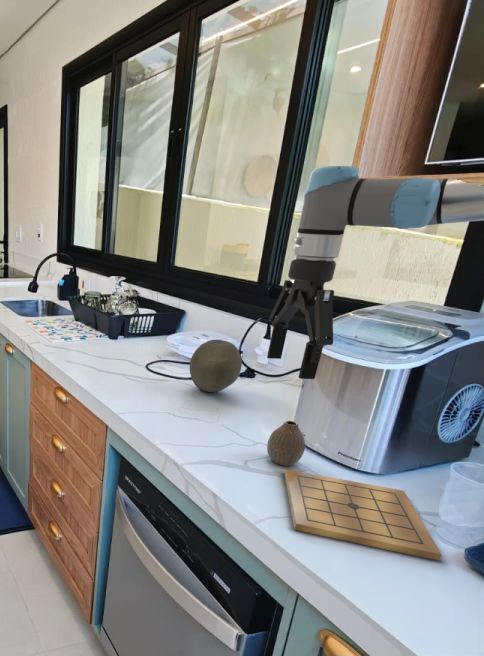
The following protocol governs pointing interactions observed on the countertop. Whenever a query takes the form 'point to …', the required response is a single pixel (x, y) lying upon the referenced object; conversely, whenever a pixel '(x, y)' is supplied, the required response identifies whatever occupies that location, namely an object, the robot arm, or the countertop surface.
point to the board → (358, 514)
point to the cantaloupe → (215, 365)
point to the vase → (286, 444)
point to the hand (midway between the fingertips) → (289, 367)
